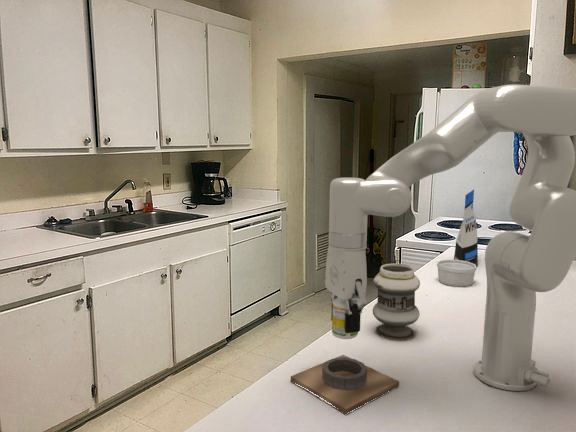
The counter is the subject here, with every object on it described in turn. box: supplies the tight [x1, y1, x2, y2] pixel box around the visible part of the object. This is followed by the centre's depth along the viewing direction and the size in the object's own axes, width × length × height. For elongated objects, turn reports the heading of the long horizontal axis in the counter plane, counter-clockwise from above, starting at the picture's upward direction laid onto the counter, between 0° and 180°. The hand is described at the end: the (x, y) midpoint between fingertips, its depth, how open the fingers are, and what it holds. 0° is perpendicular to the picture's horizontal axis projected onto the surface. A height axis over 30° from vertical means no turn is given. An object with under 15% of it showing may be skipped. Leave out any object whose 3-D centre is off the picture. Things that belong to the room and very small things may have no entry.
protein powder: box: [453, 189, 479, 268], centre depth 192 cm, size 10×24×30 cm, turn 152°
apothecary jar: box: [372, 263, 421, 341], centre depth 124 cm, size 12×12×18 cm
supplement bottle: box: [331, 295, 359, 340], centre depth 97 cm, size 5×5×10 cm
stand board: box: [290, 354, 400, 415], centre depth 99 cm, size 16×16×4 cm
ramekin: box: [436, 259, 477, 288], centre depth 169 cm, size 13×13×7 cm
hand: (345, 325), depth 97 cm, fingers closed on supplement bottle, 5 cm apart
